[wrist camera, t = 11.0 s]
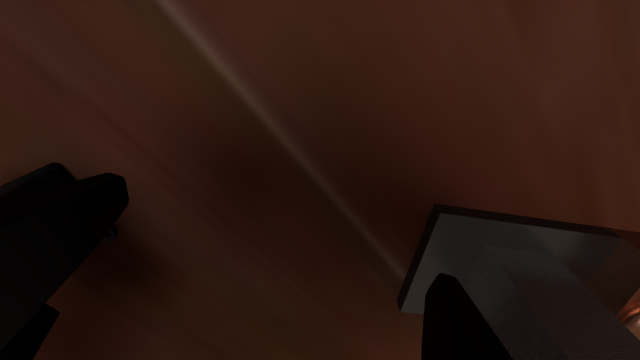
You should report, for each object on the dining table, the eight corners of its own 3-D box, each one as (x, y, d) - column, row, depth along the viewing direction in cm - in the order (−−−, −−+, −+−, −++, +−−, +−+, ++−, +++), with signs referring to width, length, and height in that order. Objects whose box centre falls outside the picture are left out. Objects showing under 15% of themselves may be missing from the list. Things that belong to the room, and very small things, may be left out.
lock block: (455, 297, 26) (567, 520, 14) (482, 244, 23) (643, 464, 12) (522, 305, 26) (680, 527, 15) (555, 254, 24) (776, 473, 12)
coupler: (396, 300, 27) (412, 355, 23) (434, 203, 23) (462, 248, 18) (595, 322, 29) (646, 377, 25) (667, 236, 24) (745, 285, 20)
